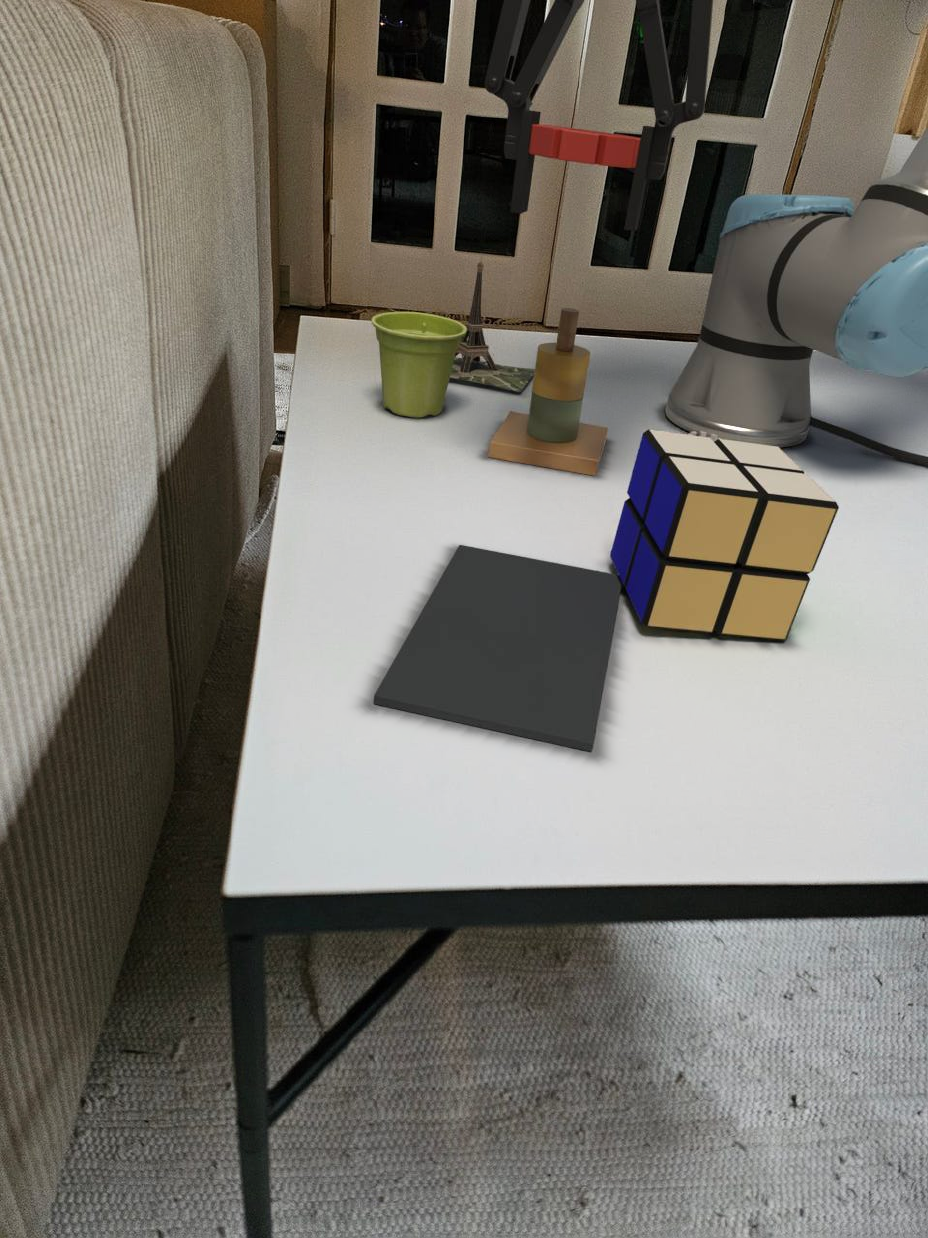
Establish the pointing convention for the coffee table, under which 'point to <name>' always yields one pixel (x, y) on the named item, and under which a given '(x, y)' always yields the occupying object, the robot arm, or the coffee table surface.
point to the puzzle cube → (719, 536)
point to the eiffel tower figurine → (484, 353)
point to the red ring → (584, 146)
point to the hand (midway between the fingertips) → (574, 219)
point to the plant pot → (416, 360)
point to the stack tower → (554, 411)
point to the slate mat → (510, 648)
